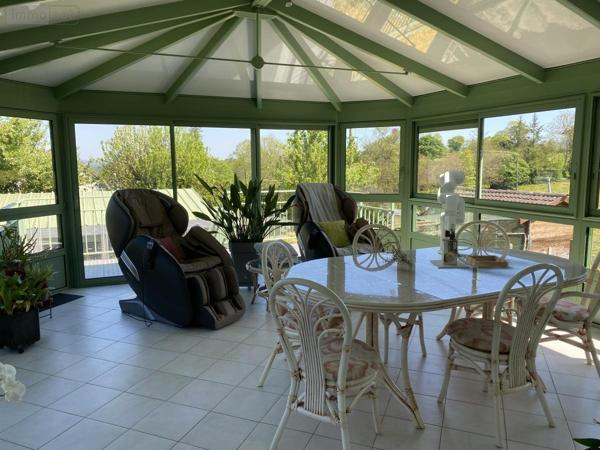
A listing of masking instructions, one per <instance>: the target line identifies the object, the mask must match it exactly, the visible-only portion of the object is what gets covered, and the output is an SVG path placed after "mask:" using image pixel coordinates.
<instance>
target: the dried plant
mask: <svg viewBox="0 0 600 450" xmlns="http://www.w3.org/2000/svg"><path fill="white" fill-rule="evenodd" d="M382 228H383V229H382V230H383V231H382V232H385V231H386V230H387V229H386V227H385V225H383V226H382ZM350 236H353V234H351V235H350ZM354 236H357V237H359V238H362V242H364V241H365V239H366V237H365V236H364V235H363V236H361V235H356V234H354ZM378 236H379V237H380V239H383V240H384V241H385V238H383V236H382V234H378ZM370 241H371V242H375V243H376V244H375V246H376V247H377V248H379V246H380V245H381V250H382V253H381V254H380V255H386V256H387V255H390V254H392V255H390V256H391V257H390V258H389V257H387V258H386V259H387V260H386V259H385V260H382V262H379V263H380V264H382V263H383V264H387V263H390V266H392V263H394V262H396V263H398V264H401V265H407V266H408V267H409V268H412V267H415V264H414V263H412V262H411V261H410V260H408V255H407V254H406V253H404V252H403V249H402V248H403V246H401V245H400V244H399V241H397V244H396V245H394V244H393V243H392V240H390V239H389V238H387V237H386V241H385V242H381V241H379V239H376V240H374V238H372V239H370ZM396 247H397V249H396ZM383 252H384V253H383Z"/></svg>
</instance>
